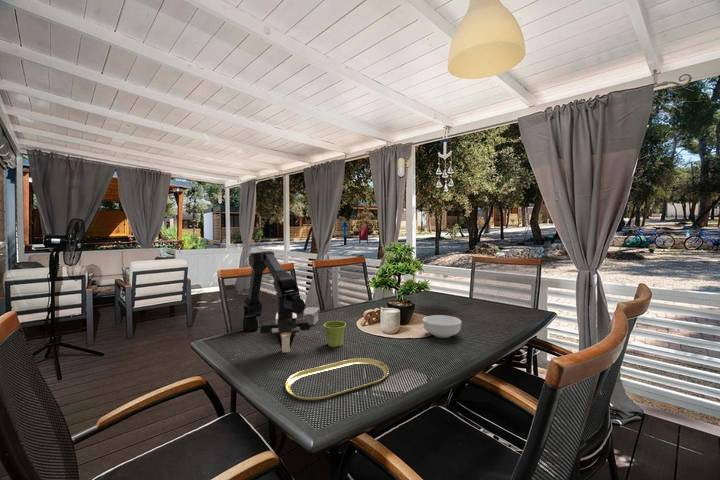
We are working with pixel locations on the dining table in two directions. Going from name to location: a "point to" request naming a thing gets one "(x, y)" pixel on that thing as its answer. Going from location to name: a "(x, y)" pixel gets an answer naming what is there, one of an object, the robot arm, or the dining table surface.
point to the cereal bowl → (442, 325)
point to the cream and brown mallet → (285, 342)
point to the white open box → (293, 318)
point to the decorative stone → (311, 315)
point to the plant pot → (334, 332)
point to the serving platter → (332, 366)
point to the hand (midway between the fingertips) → (285, 347)
